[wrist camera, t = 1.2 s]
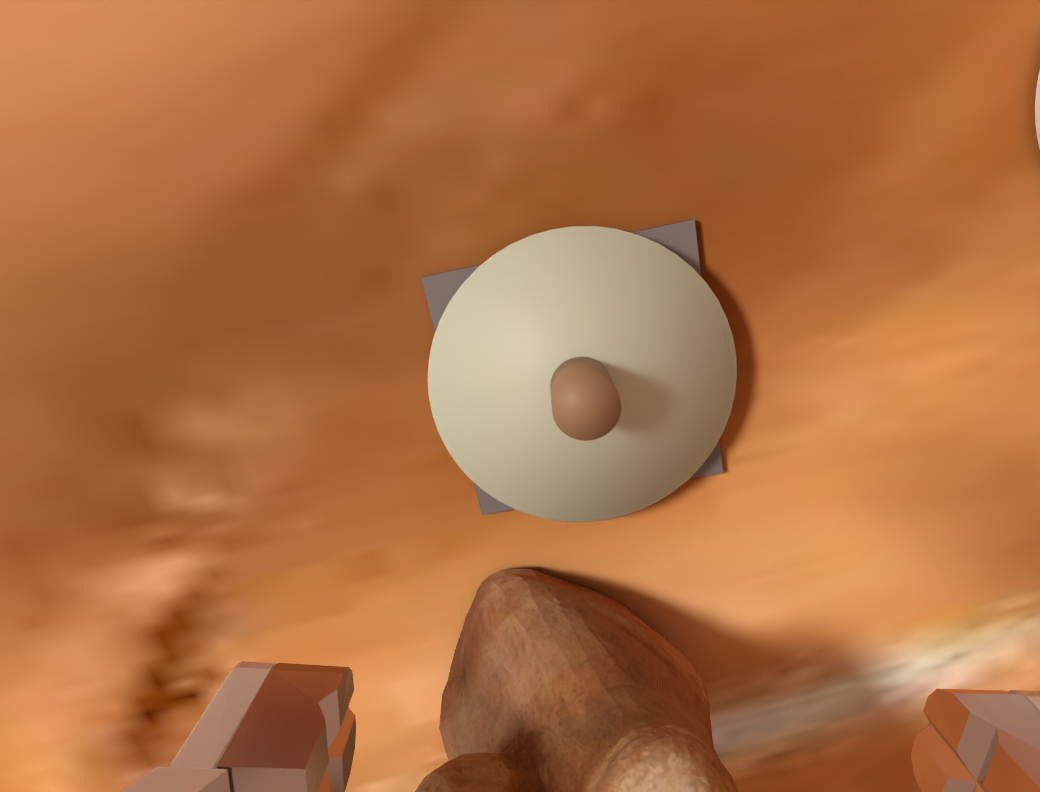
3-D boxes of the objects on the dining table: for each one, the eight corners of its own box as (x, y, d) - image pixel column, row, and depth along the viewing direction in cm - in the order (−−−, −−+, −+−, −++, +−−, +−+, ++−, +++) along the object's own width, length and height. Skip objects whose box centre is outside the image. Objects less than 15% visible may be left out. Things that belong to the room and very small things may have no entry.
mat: (692, 219, 29) (694, 219, 28) (721, 469, 33) (723, 472, 33) (422, 277, 30) (421, 277, 30) (482, 511, 34) (482, 515, 34)
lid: (712, 193, 28) (746, 191, 24) (742, 485, 33) (775, 529, 28) (397, 262, 29) (372, 271, 25) (469, 532, 34) (459, 581, 30)
